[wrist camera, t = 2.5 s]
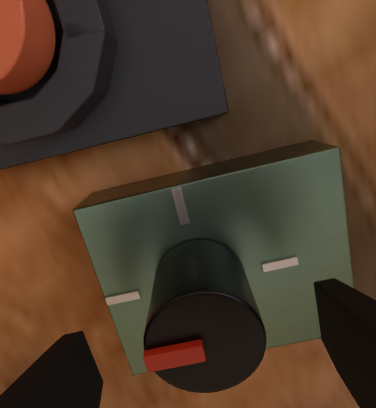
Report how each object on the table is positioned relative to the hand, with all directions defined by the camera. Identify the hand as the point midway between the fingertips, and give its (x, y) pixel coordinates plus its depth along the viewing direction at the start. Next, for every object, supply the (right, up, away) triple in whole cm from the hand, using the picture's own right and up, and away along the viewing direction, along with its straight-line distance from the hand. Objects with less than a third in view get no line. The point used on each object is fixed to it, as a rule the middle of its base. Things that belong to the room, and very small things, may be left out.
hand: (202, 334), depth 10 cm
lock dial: (0, +1, +3) cm, 3 cm away
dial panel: (+1, +2, +5) cm, 6 cm away
